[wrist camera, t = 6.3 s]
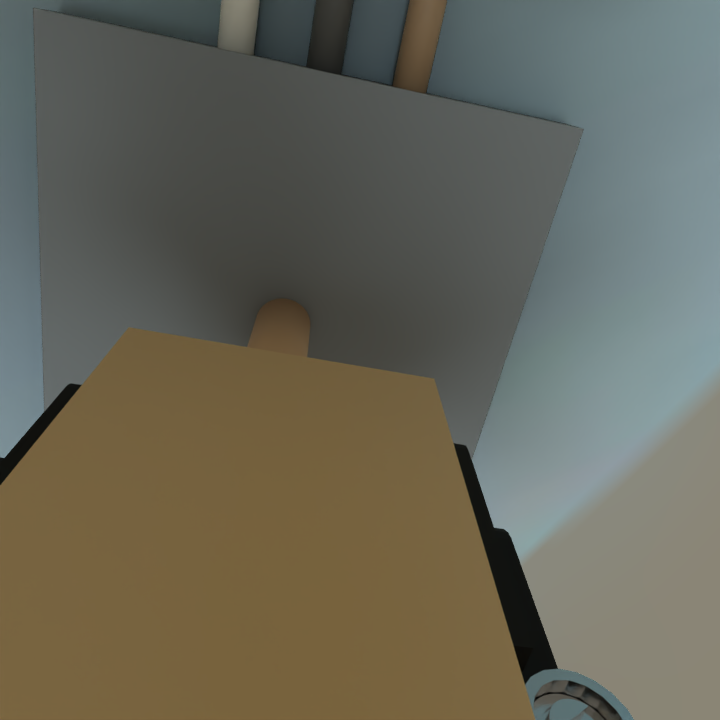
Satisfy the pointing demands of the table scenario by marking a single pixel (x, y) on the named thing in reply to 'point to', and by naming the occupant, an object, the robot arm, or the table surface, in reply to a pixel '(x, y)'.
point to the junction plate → (285, 203)
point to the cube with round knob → (247, 548)
